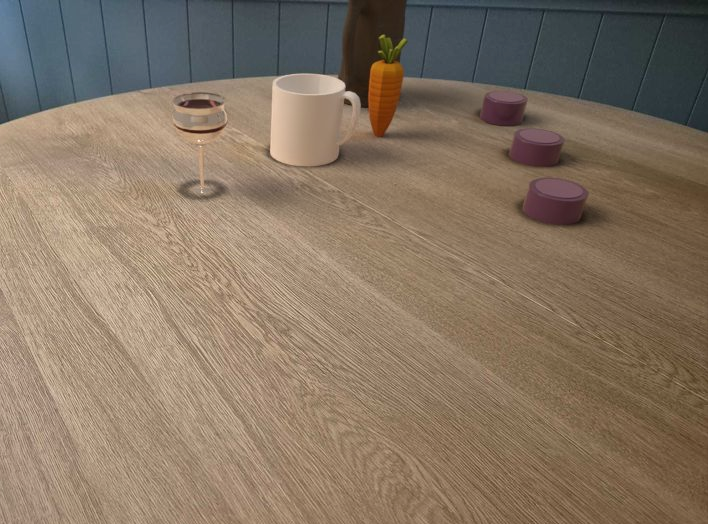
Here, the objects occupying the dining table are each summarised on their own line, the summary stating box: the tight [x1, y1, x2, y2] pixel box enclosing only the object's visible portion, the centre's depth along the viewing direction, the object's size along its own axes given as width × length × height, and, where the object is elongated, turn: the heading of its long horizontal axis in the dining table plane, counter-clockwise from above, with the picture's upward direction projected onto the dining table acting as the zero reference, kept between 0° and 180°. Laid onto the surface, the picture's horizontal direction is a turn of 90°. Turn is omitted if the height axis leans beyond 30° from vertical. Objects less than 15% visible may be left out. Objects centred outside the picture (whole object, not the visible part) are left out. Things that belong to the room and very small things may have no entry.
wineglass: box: [171, 91, 229, 194], centre depth 83 cm, size 7×7×12 cm
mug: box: [269, 73, 362, 167], centre depth 93 cm, size 13×10×10 cm
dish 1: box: [479, 90, 529, 127], centre depth 109 cm, size 7×7×4 cm
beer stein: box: [337, 0, 408, 108], centre depth 111 cm, size 15×11×20 cm
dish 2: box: [508, 127, 565, 167], centre depth 95 cm, size 7×7×4 cm
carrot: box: [368, 35, 409, 138], centre depth 98 cm, size 5×5×15 cm
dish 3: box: [521, 177, 590, 226], centre depth 81 cm, size 7×7×4 cm
